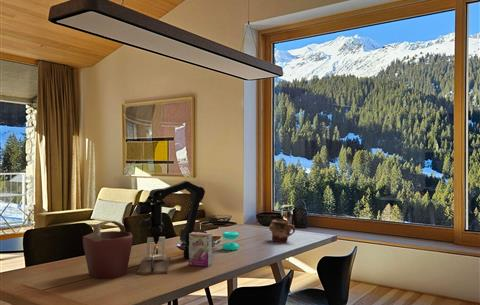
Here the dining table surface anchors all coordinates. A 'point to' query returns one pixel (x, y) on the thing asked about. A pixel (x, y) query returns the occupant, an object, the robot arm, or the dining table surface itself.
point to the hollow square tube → (149, 240)
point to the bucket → (107, 251)
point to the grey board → (159, 266)
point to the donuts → (230, 245)
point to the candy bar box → (200, 249)
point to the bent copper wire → (153, 257)
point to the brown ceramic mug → (281, 230)
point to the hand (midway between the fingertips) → (156, 243)
